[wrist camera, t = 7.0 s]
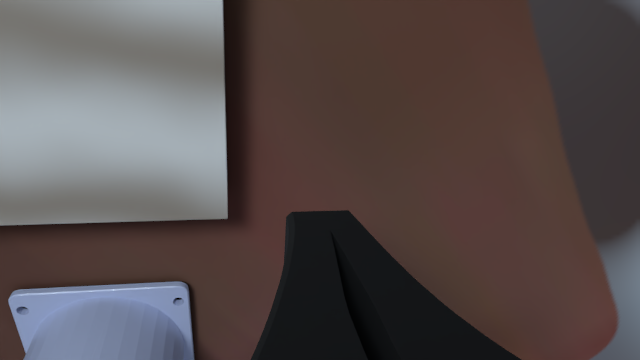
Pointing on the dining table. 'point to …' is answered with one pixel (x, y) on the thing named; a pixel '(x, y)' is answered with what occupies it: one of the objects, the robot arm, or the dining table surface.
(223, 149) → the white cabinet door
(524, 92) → the dining table surface
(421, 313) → the robot arm
